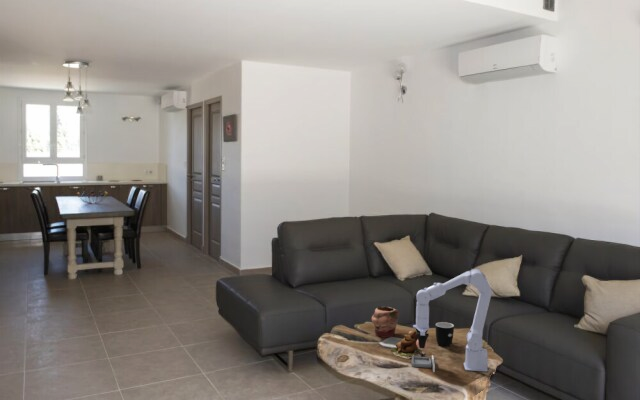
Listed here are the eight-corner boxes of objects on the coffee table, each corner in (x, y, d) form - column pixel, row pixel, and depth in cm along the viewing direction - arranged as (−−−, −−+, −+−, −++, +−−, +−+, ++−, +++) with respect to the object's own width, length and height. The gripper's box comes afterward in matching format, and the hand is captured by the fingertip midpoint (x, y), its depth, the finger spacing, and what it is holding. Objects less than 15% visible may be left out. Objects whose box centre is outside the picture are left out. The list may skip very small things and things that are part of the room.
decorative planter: (387, 326, 299) (387, 302, 298) (406, 331, 291) (406, 306, 290) (365, 336, 284) (366, 310, 283) (384, 341, 276) (385, 314, 275)
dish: (430, 360, 251) (430, 357, 251) (431, 367, 243) (431, 364, 243) (411, 359, 253) (411, 356, 252) (411, 366, 244) (412, 363, 244)
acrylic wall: (433, 361, 250) (433, 355, 250) (434, 372, 238) (434, 365, 238) (431, 361, 250) (431, 355, 250) (433, 372, 238) (433, 365, 238)
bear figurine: (402, 346, 270) (403, 322, 269) (428, 353, 260) (429, 329, 259) (386, 353, 260) (387, 328, 259) (413, 361, 250) (413, 336, 249)
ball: (427, 347, 249) (427, 336, 249) (427, 351, 244) (427, 340, 244) (416, 346, 250) (416, 336, 250) (416, 350, 245) (416, 339, 245)
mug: (448, 349, 266) (448, 329, 265) (431, 344, 272) (432, 325, 271) (459, 342, 275) (459, 323, 274) (442, 338, 281) (443, 319, 280)
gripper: (413, 311, 253) (412, 339, 255) (413, 321, 239) (413, 351, 240) (428, 312, 252) (427, 340, 254) (430, 321, 238) (429, 351, 239)
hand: (421, 345), depth 247 cm, fingers closed on ball, 5 cm apart
